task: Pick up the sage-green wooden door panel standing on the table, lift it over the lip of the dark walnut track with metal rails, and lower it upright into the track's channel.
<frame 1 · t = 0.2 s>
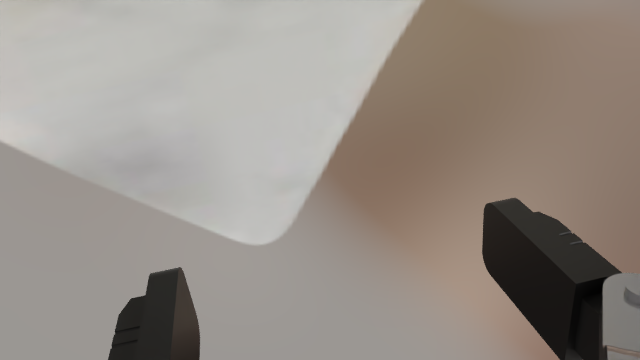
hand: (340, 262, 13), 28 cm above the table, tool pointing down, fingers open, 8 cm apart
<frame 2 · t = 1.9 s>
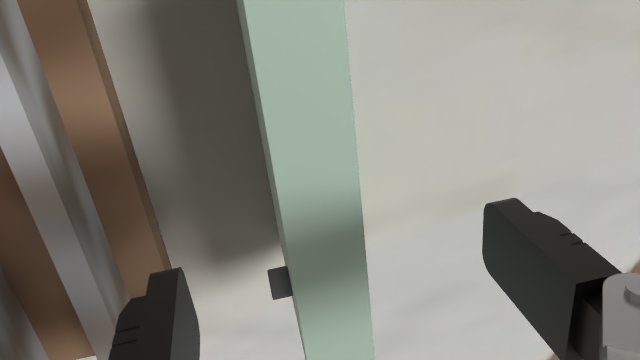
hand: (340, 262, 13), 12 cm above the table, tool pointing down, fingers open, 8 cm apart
door panel: (281, 105, 24), on the table
door track: (12, 153, 22), on the table
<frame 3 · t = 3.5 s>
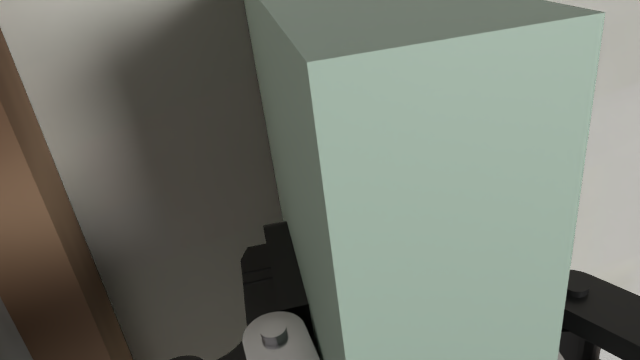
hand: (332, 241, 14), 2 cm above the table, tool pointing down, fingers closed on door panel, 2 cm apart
door panel: (319, 204, 16), on the table, touching gripper
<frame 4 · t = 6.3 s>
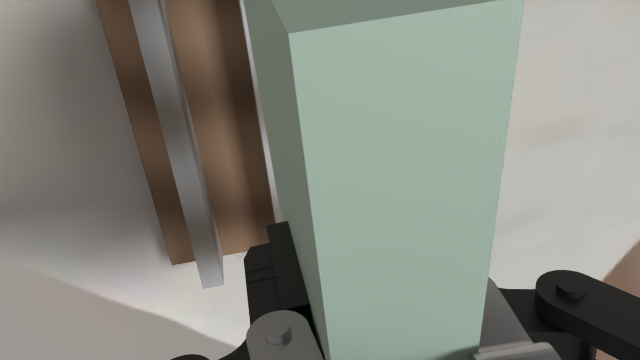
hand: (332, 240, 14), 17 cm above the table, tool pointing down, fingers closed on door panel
door panel: (304, 145, 17), point 13 cm above the table, tilted 6°, touching gripper
door track: (218, 78, 29), on the table
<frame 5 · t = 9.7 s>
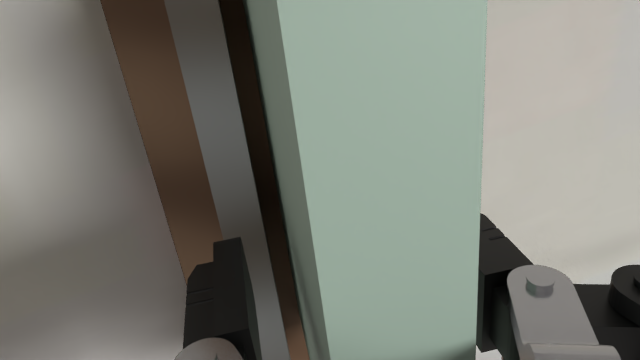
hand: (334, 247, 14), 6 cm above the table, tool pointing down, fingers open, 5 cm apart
door panel: (305, 150, 17), point 1 cm above the table, touching door track
door track: (300, 161, 19), on the table
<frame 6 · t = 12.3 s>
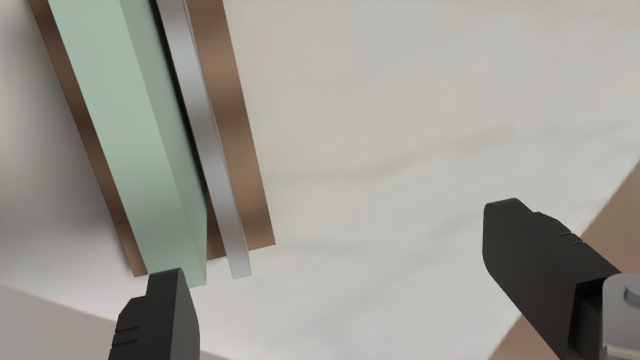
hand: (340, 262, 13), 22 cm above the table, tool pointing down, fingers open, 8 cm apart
door panel: (158, 96, 30), point 1 cm above the table, touching door track
door track: (164, 106, 32), on the table
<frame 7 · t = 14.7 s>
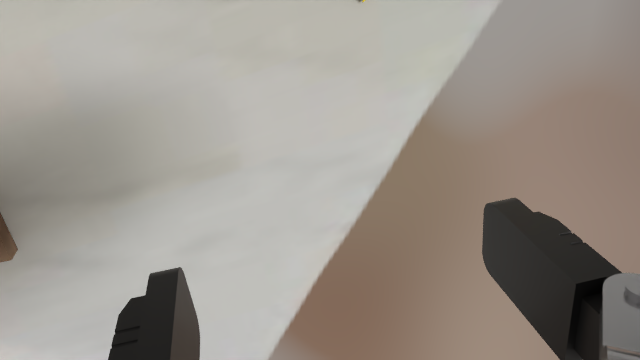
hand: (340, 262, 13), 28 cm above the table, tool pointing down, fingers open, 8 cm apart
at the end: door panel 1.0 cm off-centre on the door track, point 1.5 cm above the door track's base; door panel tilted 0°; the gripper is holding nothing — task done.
